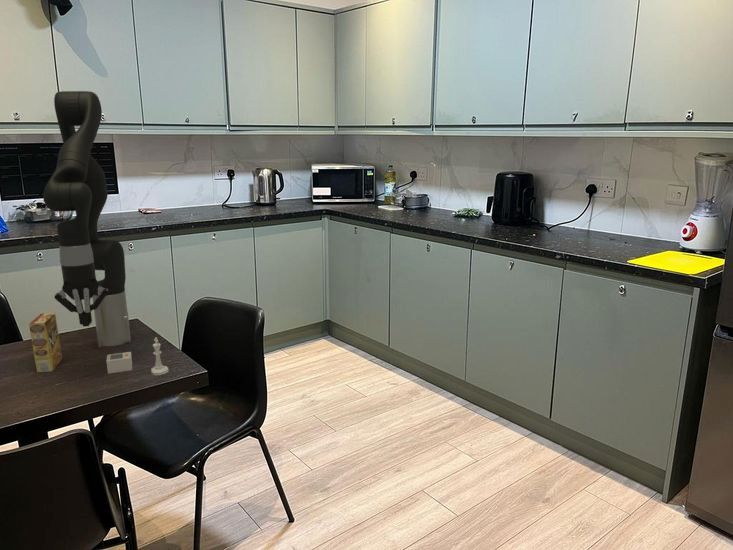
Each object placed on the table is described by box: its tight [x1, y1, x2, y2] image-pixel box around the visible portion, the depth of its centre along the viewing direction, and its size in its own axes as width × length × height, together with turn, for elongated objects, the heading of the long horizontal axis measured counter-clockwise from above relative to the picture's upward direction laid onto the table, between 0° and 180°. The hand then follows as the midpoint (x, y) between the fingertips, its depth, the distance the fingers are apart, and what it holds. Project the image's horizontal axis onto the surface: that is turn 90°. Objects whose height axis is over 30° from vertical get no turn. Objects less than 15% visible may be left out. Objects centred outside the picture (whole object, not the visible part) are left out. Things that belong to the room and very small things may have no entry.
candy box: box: [28, 312, 63, 373], centre depth 150 cm, size 9×4×15 cm, turn 13°
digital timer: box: [106, 351, 133, 375], centre depth 149 cm, size 6×5×4 cm
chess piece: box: [150, 336, 170, 376], centre depth 150 cm, size 5×5×10 cm
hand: (86, 325), depth 144 cm, fingers closed
